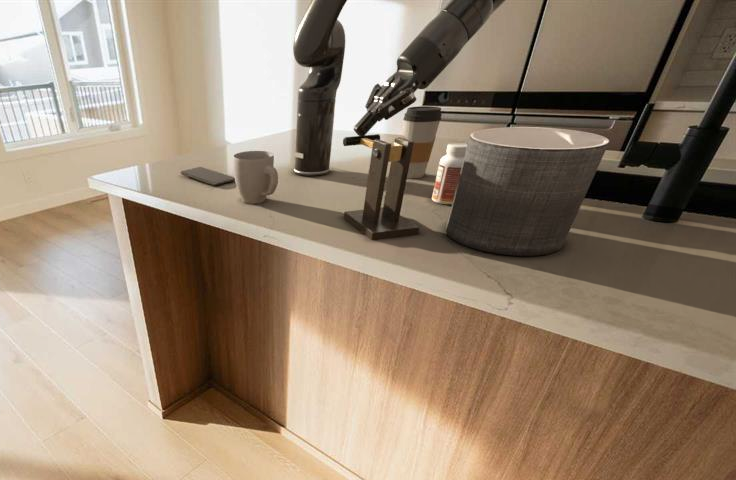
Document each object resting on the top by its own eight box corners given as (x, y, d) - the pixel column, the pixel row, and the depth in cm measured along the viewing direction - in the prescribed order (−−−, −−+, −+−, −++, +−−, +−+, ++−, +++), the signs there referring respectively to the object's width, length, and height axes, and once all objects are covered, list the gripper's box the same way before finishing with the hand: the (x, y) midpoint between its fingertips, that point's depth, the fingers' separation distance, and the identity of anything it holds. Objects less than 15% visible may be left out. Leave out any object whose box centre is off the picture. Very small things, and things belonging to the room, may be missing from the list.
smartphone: (213, 183, 106) (179, 171, 117) (213, 187, 107) (179, 175, 117) (236, 177, 110) (201, 166, 120) (236, 181, 111) (201, 170, 121)
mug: (226, 199, 98) (224, 155, 92) (256, 192, 102) (256, 148, 96) (260, 212, 90) (260, 164, 84) (290, 203, 94) (292, 156, 88)
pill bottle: (469, 201, 89) (485, 144, 83) (451, 207, 86) (467, 149, 80) (442, 194, 93) (455, 140, 87) (424, 200, 91) (437, 144, 84)
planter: (423, 226, 78) (445, 133, 69) (502, 213, 82) (532, 123, 73) (499, 264, 64) (539, 154, 55) (590, 247, 68) (642, 140, 59)
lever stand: (343, 218, 84) (352, 137, 76) (385, 213, 85) (399, 132, 77) (371, 239, 75) (385, 149, 66) (418, 234, 76) (438, 144, 67)
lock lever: (342, 147, 83) (343, 134, 81) (375, 144, 84) (377, 131, 82) (374, 163, 72) (377, 147, 70) (413, 159, 73) (416, 144, 71)
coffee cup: (433, 178, 104) (449, 109, 95) (399, 180, 104) (412, 111, 95) (421, 170, 110) (435, 105, 102) (389, 171, 111) (400, 107, 102)
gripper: (401, 35, 79) (332, 114, 84) (443, 32, 68) (361, 123, 74) (421, 67, 82) (353, 141, 88) (464, 69, 72) (385, 153, 77)
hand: (357, 133), depth 81 cm, fingers closed
